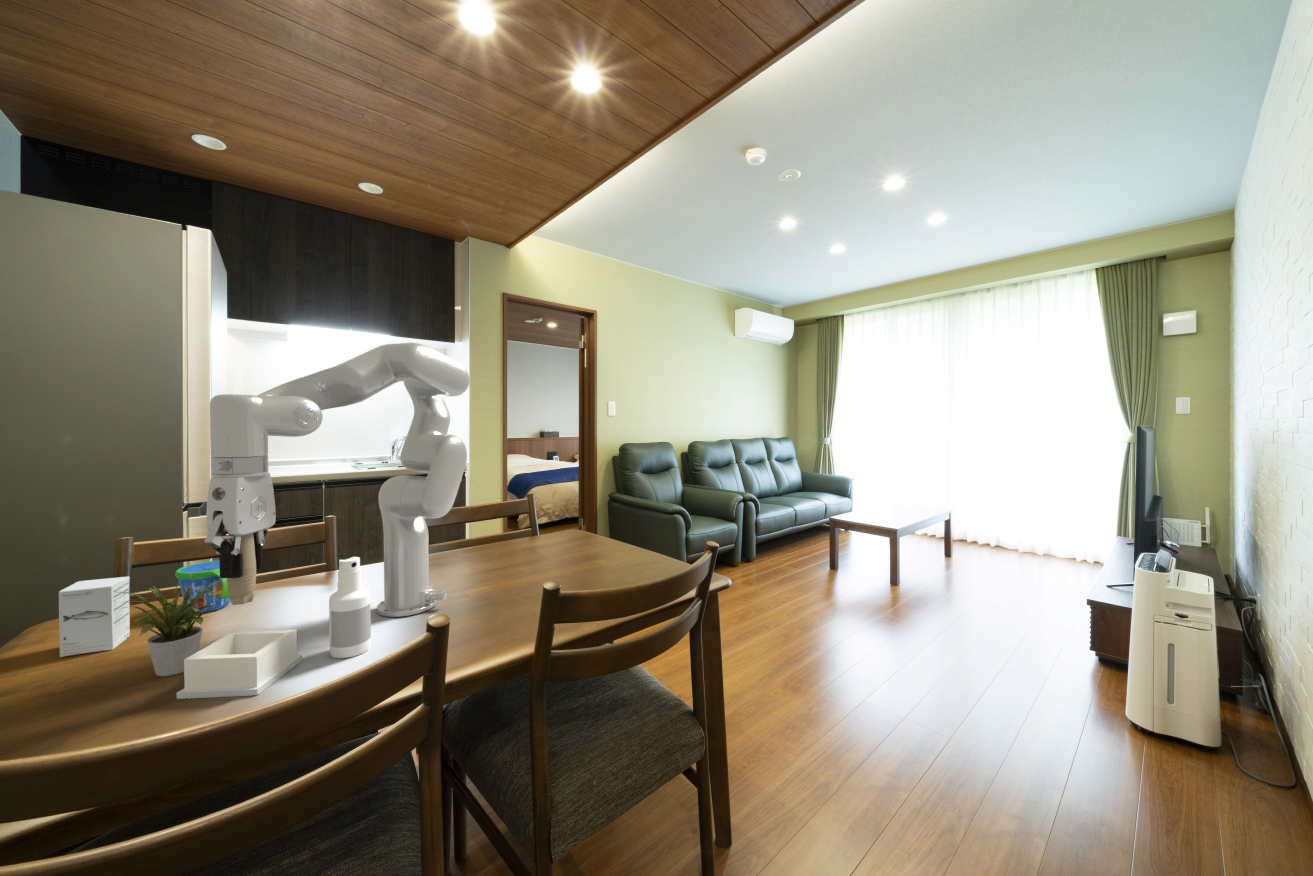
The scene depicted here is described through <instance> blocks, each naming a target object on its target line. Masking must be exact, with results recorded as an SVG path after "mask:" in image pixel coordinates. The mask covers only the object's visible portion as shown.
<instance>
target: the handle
mask: <svg viewBox="0 0 1313 876" xmlns="http://www.w3.org/2000/svg"><path fill="white" fill-rule="evenodd" d="M227 535H234V534H229V533H228V534H227ZM227 541H228V542H229V543H230V544H231V545H232V539H227ZM239 553H242V554H243V576H242V577H240V578H227V582H228V583H227V586H228V592H229V595H231V596H230V602H229V603H231V605H232V606H238V605H245V604H247V603H251V602H253V601H254V599H255V593H254V591H255V590H256V584H257V582H256V581H257V569H256V557H255V547H254V534H253V533H252V534H249V535H245V536H241V543H240V551H239Z"/></svg>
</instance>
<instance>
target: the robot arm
mask: <svg viewBox="0 0 1313 876" xmlns="http://www.w3.org/2000/svg"><path fill="white" fill-rule="evenodd" d="M470 380H471V379H470V374H469V372H468V370H467V368H466V367H465V366H464V365H463V364H462V363H461V362H460V361H458V360H456V359H454V358H451V357H450V356H448V355H446V354H443V353H441V352H440V351H439V350H435V349H434V348H431V347H430V346H426V345H425V344H421V343H416V342H402V343H387V344H382V345H379V346H377V347H374V348H372V349H370V350H368V351H365V352H363V353H361V354H359V355H357V356H355V357H353V358H351V359H348V360H346V361H343V362H341V363H339V364H337V365H334V366H332V367H329V368H326V369H322V370H319V371H317V372H314V373H311V374H308V375H305V376H302V377H299V378H296V379H293V380H290V381H287V382H284V383H281V384H279V385H277V386H275V387H272V388H270V389H269V390H266V391H263V392H261V393H259V394H257V395H253V394H252V395H251V394H231V393H230V394H227V393H226V394H217V395H215V396H212V398H211V399H210V402H209V439H210V440H209V441H210V442H209V443H210V444H209V447H210V450H209V451H210V453H209V455H210V480H209V484H208V490H207V498H206V499H207V500H206V515H205V516H206V517H205V518H206V520H205V521H206V530H207V531H206V532H207V534H206V536H205V539H204V544H205V545H208V546H210V547H212V548H213V549H214V550H215V552H216V556H219V560H220V577H221V578H240V577H242V576H243V554H242V553H239V551H240V543H241V536H245V535H249V534H252V533H253V534H254V547H255V557H256V570H260V569H263V566H264V565H263V564H264V560H263V557H264V556H263V555H264V552H263V546H264V545H265V543H266V540H265V538H266V535H267V534H268V531H269V530H270V528H271V527H273V526H274V525H275V524H276V521H277V520H276V519H277V516H276V515H277V514H276V512H277V511H276V500H275V490H274V485H273V480H272V477H271V473H270V472H269V437H291V438H296V437H297V438H298V437H304V436H308V435H310V434H312V433H314V432H315V431H317V430H318V429H319V428H320V426H321V425H322V423H323V419H324V417H323V415H324V414H323V411H325V410H330V409H335V408H342V407H343V408H344V407H347V406H352V405H355V404H358V403H359V404H360V403H362V402H364V401H365V400H367V399H370V397H373V396H374V395H377V394H379V393H380V392H382V391H383V390H385V389H387V388H389V387H391V386H393V385H395V384H396V383H399V382H403V385H404V387H405V389H406V391H407V393H408V395H409V397H410V399H411V401H412V405H413V417H412V421H411V424H410V426H409V429H408V431H407V435H406V438H405V440H404V442H403V445H402V448H401V452H400V463H401V466H402V467H404V468H405V470H408V471H412V472H414V473H415V472H416V473H427V475H426V476H420V475H403V474H402V475H397V476H393V477H389V479H386V481H384V482H383V483H382V485H381V487H380V489H379V492H378V506H379V510H380V515H381V520H382V528H383V580H384V581H383V583H384V585H383V586H384V587H383V589H384V591H383V593H384V594H383V595H384V596H383V597H384V598H383V601H381V602H379V604H377V606H376V613H377V614H379V615H380V616H382V617H388V618H389V617H390V618H396V617H397V618H398V617H408V616H412V615H418V614H421V613H425V612H426V611H429V610H430V609H432V608H434V606H435V605H436V603H437V601H438V602H439V601H446V600H447V596H448V595H447V591H445V589H437V590H436V589H434V584H433V583H430V580H429V579H430V578H429V574H430V573H429V567H430V566H429V565H430V564H429V562H430V561H429V541H430V540H429V538H430V537H429V529H428V525H427V522H426V519H439V518H443V517H444V516H446V515H447V514H448V513H449V512H450V511H451V509H452V508H453V506H454V503H455V500H456V498H457V495H458V491H459V488H460V485H461V483H462V482H461V481H462V478H463V477H464V476H463V475H464V472H465V468H466V466H467V460H468V451H467V447H466V444H465V442H464V441H463V440H462V438H460V437H458V436H457V435H455V434H454V435H452V434H448V432H449V427H450V425H451V424H450V423H451V415H450V411H449V408H448V406H447V404H446V402H445V400H444V399H443V397H456V396H457V397H458V396H461V395H462V394H464V393H465V392H466V391H467V390H468V388H469V385H470ZM228 533H229V534H234V535H228ZM228 539H232V545H231V544H230V543H229V542H228Z"/></svg>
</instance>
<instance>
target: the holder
mask: <svg viewBox="0 0 1313 876" xmlns="http://www.w3.org/2000/svg"><path fill="white" fill-rule="evenodd" d="M297 634H298V633H297V629H285V630H284V629H283V630H281V629H279V630H256V631H254V630H252V631H251V630H250V631H249V630H247V631H232V632H229V634H226V635H225V636H223V637H221V638H219V639H218V640H216V641H214V642H212V643H211V644H209V645H207V646H205V647H204V648H201V649H199V651H198V652H196V653H195V654H193V655H191V656H189V657H188V658H186V659H184V672H183V674H184V675H183V677H184V678H183V681H184V687H183V688H182V689H181V690H179V691H177V692H176V700H183V699H186V698H187V699H204V698H208V699H209V698H226V697H229V698H230V697H250V696H252V697H253V695H254V696H258V694H259V695H260V694H261V693H262V692H263V691H265V690H267V688H269V687H271V685H273V684H274V683H275V682H277V681H278V680H279V679H280V678H282V676H284V675H285V674H287V673H288V672H290V671H291V670H292V669H293V668H294V667H296V666H297V665H298V664H299V663H300V662H302V661H303V660H304V655H303V654H301V653H300V654H298V643H297V642H298V641H297V640H298V638H297V637H298V636H297Z"/></svg>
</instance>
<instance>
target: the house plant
mask: <svg viewBox="0 0 1313 876" xmlns="http://www.w3.org/2000/svg"><path fill="white" fill-rule="evenodd" d="M183 577H184V576H183ZM183 577H182V578H183ZM182 578H181V579H182ZM181 579H180V580H181ZM219 581H220V580H219ZM219 581H216V582H214V583H212V584H211V585H209V586H208V587H206V588H205V589H204V590H203V591H202V592H201V593H200V594H199V595H198V596H196V597H195V598H194V599H192V600H191V601H190V602H189V603H188V605H187V601H188V599H189V597H190V593H191V583H190V584H189V586H188V589H187V591H186V593H185V596H184V600H183V601H182V603H180V604H178V600H179V597H180V595H181V593H182V590H183V589H182V590H181V589H180V591H179V592H178V593H177V590H178V586H179V585H180V581H179V580H178V582H177V584H176V587H175V590H174V594H173V601H168V600H167V598H166V596H164V595H163V593H162V591H161V590H160V589H159V588H158V587H156V586H154V585H150V586H151V587H153V588H154V589H153V588H151V587H148V589H149V590H150V591H151V594H153V595H154V596H155V599H156V600H157V601H158V602H159V604H160V605H161V607H162V609H163V612H164V613H162V612H161V610H159V609H158V607H156V606H155V605H153V603H150V602H149V601H148V600H147V599H146V598H144V597H143V596H141V595H139V594H138V593H134V592H129V595H133V596H135V597H137V598H140V600H132V601H130V603H134V602H135V603H140V604H143V605H145V606H146V607H148V608H150V609H152V611H154V612H155V614H157V616H158V617H160V618H161V620H162V621H163V622H162V621H158V620H157V618H155V616H153V615H152V614H151V613H149V612H148V611H147V610H146V609H144V608H142V607H139V606H131V605H130V608H135V609H138V610H140V611H142V612H143V613H144V614H146V615H143V616H140V617H137V618H136V619H134V620H133V621H132V622H133V623H136V622H142V623H140V625H138V628H139V627H140V628H141V629H140V633H139V638H140V637H141V636H142V635H143V634H145V633H147V632H148V631H150V632H152V633H154V635H152V636H151V637H149V638H148V639H147V640H146V643H147V646H148V650H149V654H150V657H151V662H152V665H153V669H154V672H155V675H156V676H157V677H169V676H174V674H175V675H178V673H179V674H181V673H182V674H183V673H184V659H186V658H188V657H189V656H191V655H193V654H195V653H196V652H198V651H200V645H201V640H202V639H201V638H202V634H203V628H202V627H201V626H202V624H203V623H204V618H203V617H202V616H203V615H205V613H208V612H207V611H209V610H212V609H208V610H206V611H204V612H202V613H199V612H200V610H202V609H204V608H207V607H209V606H213V605H208V606H203V607H200V608H197V609H196V608H194V609H193V607H194V606H195V605H196V603H197V602H198V601H199V600H200V598H201V597H202V596H203V595H204V594H205V593H207V591H208V590H209V589H210V588H211V587H212V586H213V585H214V584H216V583H217V582H219ZM186 587H187V586H186ZM117 593H128V592H117ZM125 603H127V602H125ZM121 604H122V603H121ZM186 605H187V606H186ZM215 605H217V604H215ZM124 608H126V607H124ZM120 609H121V608H120ZM192 609H193V610H192ZM191 610H192V611H191ZM198 613H199V615H198ZM195 623H198V624H199V625H200V626H194V625H195ZM142 624H149V625H145V626H142ZM133 627H134V625H132V626H131V625H130V628H133ZM127 628H128V627H127ZM153 628H155V629H157V630H158V631H159V632H158V631H156V630H154V629H153Z"/></svg>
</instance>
